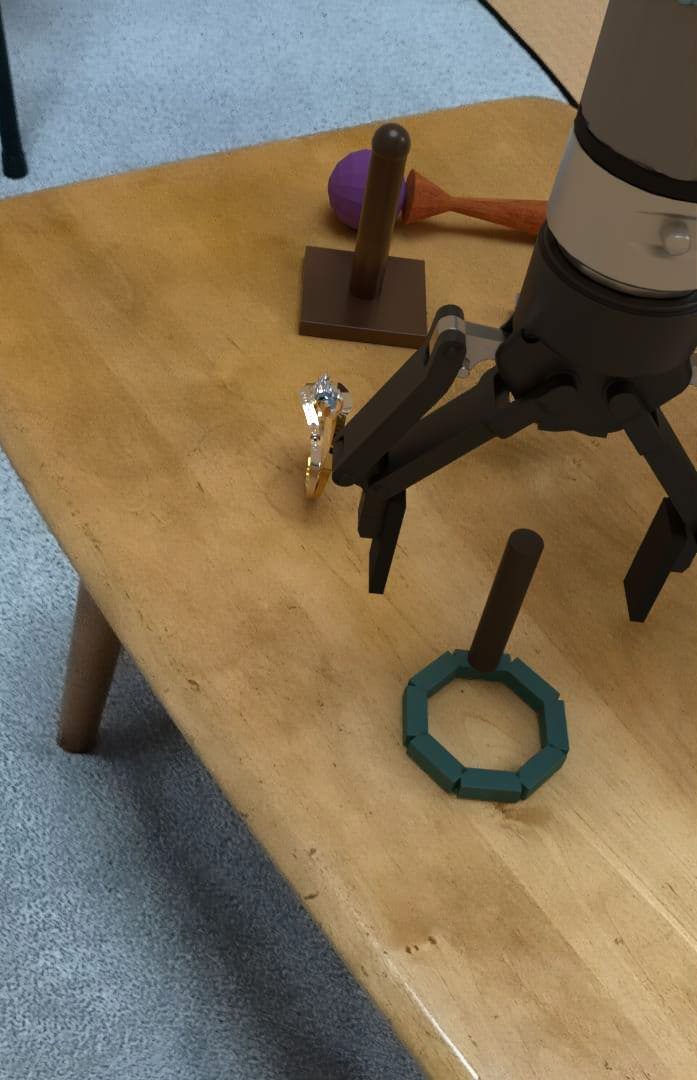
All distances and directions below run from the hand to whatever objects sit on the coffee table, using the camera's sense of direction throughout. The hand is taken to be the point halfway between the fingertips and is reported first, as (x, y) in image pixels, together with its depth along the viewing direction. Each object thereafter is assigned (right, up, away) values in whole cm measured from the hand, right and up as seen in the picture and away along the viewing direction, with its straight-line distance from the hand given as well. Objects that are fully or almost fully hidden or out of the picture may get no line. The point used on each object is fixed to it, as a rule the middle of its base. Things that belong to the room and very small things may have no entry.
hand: (505, 588), depth 64 cm
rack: (-7, +20, +26) cm, 34 cm away
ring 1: (-11, +6, +14) cm, 18 cm away
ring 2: (-1, -8, +3) cm, 8 cm away
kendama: (0, +27, +34) cm, 44 cm away
